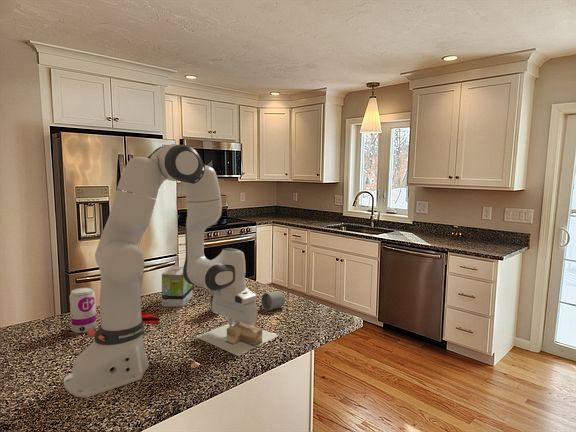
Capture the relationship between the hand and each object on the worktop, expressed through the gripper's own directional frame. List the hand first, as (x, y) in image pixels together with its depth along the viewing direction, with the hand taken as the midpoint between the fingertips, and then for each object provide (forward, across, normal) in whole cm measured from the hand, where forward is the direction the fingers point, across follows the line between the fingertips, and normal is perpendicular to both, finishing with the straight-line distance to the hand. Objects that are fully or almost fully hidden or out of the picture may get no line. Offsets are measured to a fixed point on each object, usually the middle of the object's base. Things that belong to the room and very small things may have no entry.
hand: (233, 329), depth 135 cm
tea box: (+2, -47, +9) cm, 48 cm away
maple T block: (+2, +7, 0) cm, 7 cm away
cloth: (+3, -43, -12) cm, 45 cm away
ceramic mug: (+3, -9, +30) cm, 32 cm away
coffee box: (+2, -24, +15) cm, 28 cm away
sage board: (+2, +2, 0) cm, 3 cm away
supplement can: (+2, -47, -32) cm, 57 cm away
